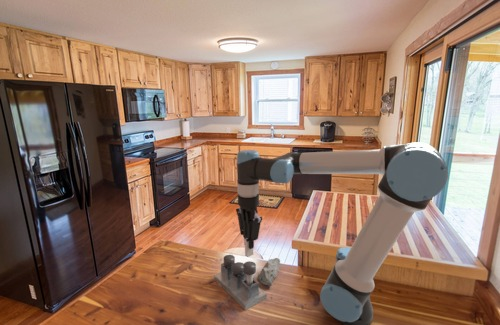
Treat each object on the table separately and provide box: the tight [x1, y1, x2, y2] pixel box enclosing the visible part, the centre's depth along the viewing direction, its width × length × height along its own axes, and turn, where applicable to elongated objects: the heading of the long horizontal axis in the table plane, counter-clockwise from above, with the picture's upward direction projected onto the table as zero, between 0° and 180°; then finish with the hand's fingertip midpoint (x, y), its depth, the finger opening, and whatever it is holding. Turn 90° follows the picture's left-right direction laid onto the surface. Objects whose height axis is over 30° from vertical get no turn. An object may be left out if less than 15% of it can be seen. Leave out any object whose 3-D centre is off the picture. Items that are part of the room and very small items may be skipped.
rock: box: [257, 257, 281, 287], centre depth 113 cm, size 16×7×7 cm, turn 158°
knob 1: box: [223, 254, 236, 268], centre depth 110 cm, size 5×5×10 cm
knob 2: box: [233, 261, 244, 276], centre depth 104 cm, size 5×5×10 cm
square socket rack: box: [214, 262, 267, 311], centre depth 105 cm, size 22×10×7 cm, turn 38°
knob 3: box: [243, 261, 257, 286], centre depth 98 cm, size 5×5×10 cm
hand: (249, 254), depth 97 cm, fingers closed
